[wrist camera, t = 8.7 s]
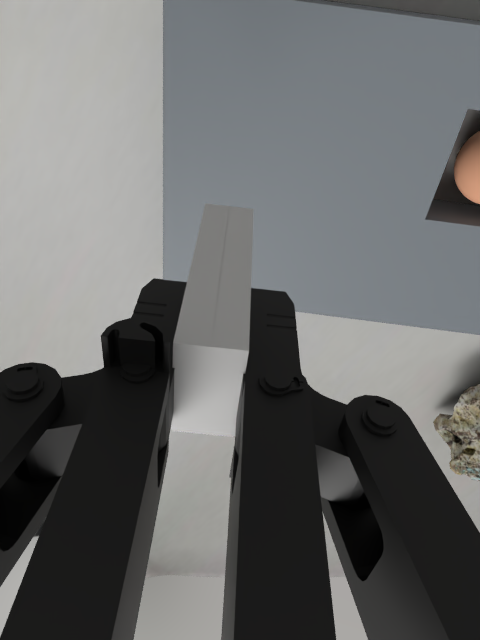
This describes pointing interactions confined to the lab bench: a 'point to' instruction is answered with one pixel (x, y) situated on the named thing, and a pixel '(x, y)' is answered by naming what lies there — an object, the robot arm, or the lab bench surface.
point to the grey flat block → (325, 152)
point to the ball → (469, 169)
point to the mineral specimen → (463, 433)
